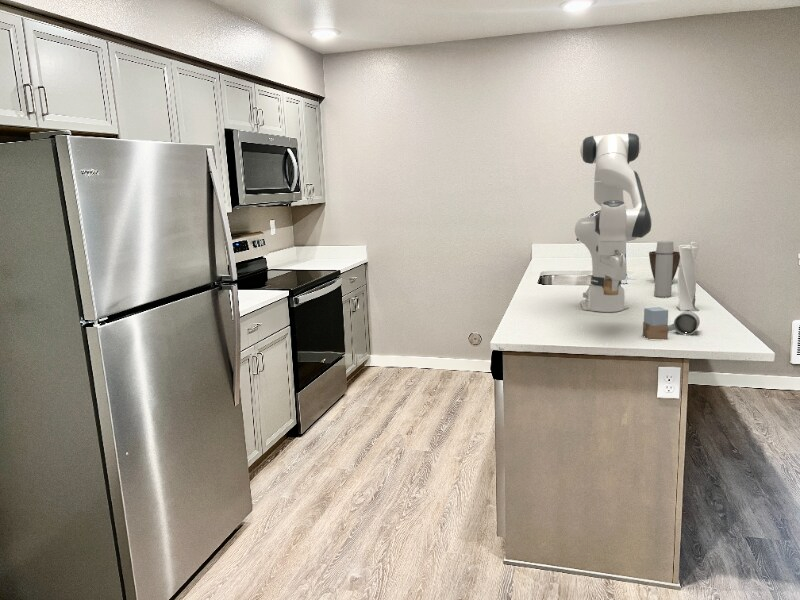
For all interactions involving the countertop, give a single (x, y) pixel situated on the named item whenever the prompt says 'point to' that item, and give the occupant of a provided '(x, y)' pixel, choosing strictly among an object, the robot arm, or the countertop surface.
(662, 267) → the water bottle
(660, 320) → the slate upper block
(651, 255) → the plant pot
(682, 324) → the ceramic mug
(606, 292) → the oak cylinder
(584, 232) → the robot arm
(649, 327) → the walnut base block
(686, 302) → the skyscraper
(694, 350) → the countertop surface
